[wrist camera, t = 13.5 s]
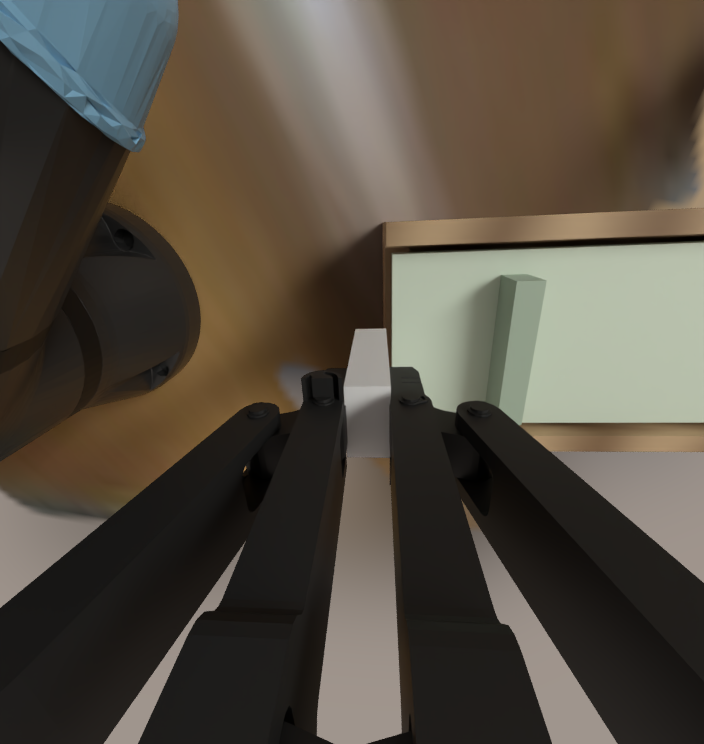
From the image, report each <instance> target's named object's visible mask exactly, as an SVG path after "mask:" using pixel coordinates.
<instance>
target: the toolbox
mask: <svg viewBox="0 0 704 744" xmlns="http://www.w3.org/2000/svg"><path fill="white" fill-rule="evenodd" d="M684 241H704V208H690V209H668V210H646V211H624V212H602V213H580V214H558V215H536V216H514V217H492V218H470V219H448V220H426V221H405V222H384V223H383V329H384V328H386V333H387V345H388V357H389V367H391V265H392V253H400V252H426V251H452V250H477V249H503V248H529V247H555V246H580V245H606V244H632V243H658V242H684ZM519 426H521V427H522V428H523V429H524V430H525V431H526V432H528V433H529V434H530V435H531V436H532V437H533V438H535V439H536V440H537V441H538V442H539V443H540V444H542V445H543V446H544V447H545V448H546V449H547V450H549V451H601V452H605V451H606V452H618V451H619V452H704V423H522V424H521V425H519Z"/></svg>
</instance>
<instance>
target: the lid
mask: <svg viewBox="0 0 704 744" xmlns="http://www.w3.org/2000/svg"><path fill="white" fill-rule="evenodd" d="M391 367H413V368H414V369H416V370H417V371H418V372H419V375H420V379H421V383H422V386H423V389H424V393H425V395H426V396H428V397H429V398H430V399H431V401H432V404H433V407H435V408H438V409H440V410H444V411H449V412H455V413H456V409H457V406H458V405H459V404H461V403H463V402H467V401H476V400H477V401H484V402H487V403H489V404H492V405H495V406H496V407H498V408H499V409H501V410H502V411H503V412H504V413H505V414H506V415H508V416H509V417H510V418H511V419H512V420H514V421H515V422H516V423H517V424H518V425H521V424H522V423H704V241H684V242H658V243H632V244H606V245H580V246H555V247H529V248H503V249H477V250H452V251H426V252H400V253H392V265H391Z"/></svg>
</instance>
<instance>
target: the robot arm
mask: <svg viewBox="0 0 704 744" xmlns="http://www.w3.org/2000/svg"><path fill="white" fill-rule="evenodd" d="M177 30H178V0H0V461H2V460H3V459H5V458H6V457H8V456H9V455H11V454H13V453H14V452H16V451H17V450H19V449H20V448H22V447H24V446H25V445H27V444H28V443H30V442H31V441H33V440H34V439H36V438H38V437H39V436H41V435H42V434H44V433H45V432H47V431H49V430H50V429H52V428H53V427H55V426H56V425H58V424H59V423H61V422H62V421H64V420H65V419H67V418H69V417H70V416H72V415H73V414H75V413H77V412H78V411H80V410H81V409H85V408H89V407H93V406H98V405H102V404H106V403H111V402H115V401H119V400H123V399H128V398H132V397H136V396H140V395H143V394H146V393H148V392H150V391H152V390H154V389H156V388H158V387H160V386H161V385H163V384H164V383H165V382H167V381H168V380H170V379H171V378H172V377H174V376H175V375H176V374H177V373H179V372H180V371H181V370H182V369H183V368H184V367H185V366H186V364H187V363H188V362H189V360H190V359H191V357H192V355H193V353H194V351H195V349H196V346H197V343H198V339H199V334H200V323H201V319H200V307H199V301H198V297H197V293H196V290H195V287H194V284H193V282H192V279H191V277H190V275H189V273H188V271H187V269H186V267H185V265H184V264H183V262H182V260H181V259H180V257H179V256H178V255H177V253H176V252H175V250H174V249H173V248H172V247H171V245H170V244H169V243H168V242H167V241H166V240H165V239H164V238H163V237H162V236H161V235H160V234H159V233H158V232H157V231H156V230H155V229H154V228H153V227H151V226H150V225H149V224H148V223H146V222H145V221H144V220H142V219H141V218H139V217H138V216H136V215H134V214H133V213H131V212H129V211H127V210H125V209H123V208H121V207H119V206H116V205H114V204H111V203H108V201H109V198H110V196H111V194H112V192H113V189H114V187H115V185H116V183H117V180H118V178H119V176H120V173H121V171H122V169H123V167H124V164H125V162H126V160H127V158H128V155H129V153H130V151H132V152H140V151H141V149H142V147H143V145H144V143H145V140H146V137H145V132H144V128H143V126H144V123H145V121H146V118H147V115H148V113H149V110H150V107H151V105H152V102H153V99H154V97H155V94H156V91H157V89H158V86H159V83H160V81H161V78H162V75H163V73H164V70H165V67H166V65H167V62H168V59H169V57H170V54H171V51H172V49H173V46H174V43H175V39H176V35H177ZM301 381H302V391H303V404H302V406H301V409H300V410H297V411H294V412H289V413H283V414H280V412H279V407H278V406H276V405H275V404H272V403H263V402H259V403H254V404H252V405H249V406H246V407H244V408H243V409H241V410H240V411H239V412H237V413H236V414H235V415H234V416H232V417H231V418H230V419H229V420H228V421H226V422H225V423H224V424H223V425H222V426H220V427H219V428H218V429H217V430H215V431H214V432H213V433H212V434H211V435H209V436H208V437H207V438H206V439H205V440H203V441H202V442H201V443H200V444H199V445H197V446H196V447H195V448H194V449H192V450H191V451H190V452H189V453H188V454H186V455H185V456H184V457H183V458H182V459H180V460H179V461H178V462H177V463H175V464H174V465H173V466H172V467H171V468H169V469H168V470H167V471H166V472H165V473H163V474H162V475H161V476H160V477H159V478H157V479H156V480H155V481H154V482H152V483H151V484H150V485H149V486H148V487H146V488H145V489H144V490H143V491H142V492H140V493H139V494H138V495H137V496H135V497H134V498H133V499H132V500H131V501H129V502H128V503H127V504H126V505H125V506H123V507H122V508H121V509H120V510H119V511H117V512H116V513H115V514H114V515H112V516H111V517H110V518H109V519H108V520H106V521H105V522H104V523H103V524H102V525H100V526H99V527H98V528H97V529H96V530H95V531H93V532H92V533H91V534H89V535H88V536H87V537H86V538H85V539H83V541H81V542H80V543H79V544H78V545H76V546H75V547H74V548H72V549H71V550H70V551H69V552H68V553H66V554H65V555H64V556H63V557H62V558H61V559H59V560H58V561H57V562H56V563H54V564H53V565H52V566H51V567H49V568H48V569H47V570H46V571H45V572H43V573H42V574H41V575H40V576H39V577H37V578H36V579H35V580H34V581H33V582H31V583H30V584H29V585H28V586H26V587H25V588H24V589H23V590H22V591H20V592H19V593H18V594H17V595H16V596H14V597H13V598H12V599H11V600H10V601H8V602H7V603H6V604H5V605H3V606H2V607H1V608H0V744H104V742H105V741H106V739H107V738H108V736H109V735H110V734H111V732H112V731H113V729H114V728H115V726H116V725H117V724H118V722H119V721H120V719H121V718H122V716H123V715H124V714H125V712H126V711H127V709H128V708H129V707H130V705H131V703H132V702H133V701H134V699H135V698H136V697H137V695H138V694H139V692H140V691H141V689H142V688H143V687H144V685H145V684H146V682H147V681H148V679H149V678H150V677H151V675H152V674H153V672H154V671H155V669H156V668H157V667H158V665H159V664H160V662H161V661H162V659H163V658H164V657H165V655H166V654H167V652H168V650H169V649H170V648H171V646H172V645H173V644H174V642H175V641H176V639H177V638H178V637H179V635H180V634H181V632H182V631H183V629H184V628H185V627H186V625H187V624H188V622H189V621H190V620H191V618H192V617H193V615H194V614H195V612H196V611H197V610H198V608H199V607H200V605H201V604H202V602H203V601H204V599H205V598H206V597H207V595H208V594H209V592H210V591H211V590H212V588H213V587H214V585H215V584H216V582H217V581H218V580H219V578H220V577H221V575H222V574H223V572H224V571H225V570H226V568H227V567H228V565H229V564H230V562H231V561H232V560H233V558H234V557H235V555H236V554H237V552H238V551H239V550H240V548H241V547H242V545H243V544H244V542H245V541H246V543H245V545H244V547H243V550H242V552H241V555H240V557H239V560H238V562H237V564H236V567H235V570H234V572H233V574H232V577H231V579H230V582H229V584H228V586H227V589H226V591H225V594H224V596H223V599H222V601H221V603H220V605H219V606H218V607H217V609H216V610H215V611H207V612H204V613H203V614H202V615H201V616H200V617H199V618H198V619H197V620H196V621H195V623H194V625H193V627H192V629H191V631H190V632H189V634H188V636H187V638H186V640H185V642H184V645H183V647H182V649H181V651H180V653H179V656H178V658H177V660H176V662H175V664H174V667H173V669H172V671H171V673H170V675H169V677H168V680H167V682H166V684H165V686H164V688H163V691H162V693H161V695H160V697H159V699H158V702H157V704H156V706H155V708H154V710H153V712H152V714H151V717H150V719H149V721H148V723H147V725H146V728H145V730H144V732H143V734H142V736H141V738H140V741H139V743H138V744H333V743H331V742H329V741H327V740H324V739H322V738H320V737H318V736H317V708H318V699H319V689H320V681H321V673H322V665H323V657H324V649H325V641H326V633H327V632H326V631H327V624H328V616H329V607H330V600H331V592H332V583H333V575H334V566H335V559H336V550H337V542H338V534H339V526H340V517H341V510H342V502H343V493H344V485H345V477H346V469H347V461H346V451H347V457H373V458H390V485H391V498H392V499H391V501H392V521H393V544H394V563H395V564H394V565H395V586H396V607H397V629H398V650H399V668H400V669H399V672H400V693H401V716H402V717H401V718H402V734H399V735H396V736H392V737H389V738H385V739H382V740H378V741H375V742H371V743H368V744H552V742H551V739H550V736H549V733H548V730H547V727H546V724H545V721H544V718H543V715H542V712H541V709H540V706H539V703H538V700H537V697H536V694H535V691H534V688H533V685H532V682H531V679H530V676H529V673H528V670H527V667H526V664H525V661H524V658H523V655H522V652H521V650H520V647H519V645H518V643H517V640H516V637H515V635H514V633H513V632H512V630H511V629H510V627H509V626H508V625H505V624H501V623H500V622H499V620H498V619H497V616H496V614H495V611H494V608H493V604H492V601H491V598H490V594H489V591H488V588H487V584H486V581H485V578H484V574H483V571H482V568H481V564H480V561H479V558H478V554H477V551H476V548H475V544H474V541H473V538H472V534H471V531H470V528H469V524H468V521H467V518H466V514H465V511H464V508H463V504H462V501H463V502H464V504H465V505H466V507H467V509H468V510H469V512H470V513H471V515H472V516H473V518H474V520H475V521H476V523H477V524H478V526H479V527H480V529H481V531H482V532H483V534H484V535H485V537H486V538H487V540H488V541H489V543H490V544H491V546H492V548H493V549H494V551H495V552H496V554H497V555H498V557H499V559H500V560H501V562H502V563H503V565H504V566H505V568H506V569H507V571H508V573H509V574H510V576H511V577H512V579H513V581H514V582H515V583H516V585H517V587H518V588H519V590H520V592H521V593H522V595H523V596H524V598H525V599H526V601H527V602H528V604H529V606H530V607H531V609H532V610H533V612H534V613H535V615H536V617H537V618H538V619H539V621H540V623H541V624H542V626H543V628H544V629H545V631H546V632H547V634H548V635H549V637H550V638H551V640H552V642H553V643H554V645H555V646H556V648H557V649H558V651H559V652H560V654H561V656H562V657H563V659H564V660H565V662H566V663H567V665H568V667H569V668H570V670H571V671H572V673H573V674H574V676H575V678H576V679H577V681H578V682H579V684H580V685H581V687H582V689H583V690H584V692H585V693H586V695H587V696H588V698H589V699H590V701H591V703H592V704H593V706H594V707H595V708H596V710H597V712H598V714H599V715H600V717H601V718H602V720H603V721H604V723H605V725H606V726H607V728H608V729H609V731H610V732H611V734H612V735H613V737H614V738H615V740H616V742H617V743H618V744H704V583H703V582H702V581H701V580H699V579H698V578H697V577H696V576H695V575H693V574H692V573H691V572H690V571H689V570H688V569H687V568H685V567H684V566H683V565H682V564H681V563H680V562H678V561H677V560H676V559H675V558H674V557H673V556H671V555H670V554H669V553H668V552H667V551H666V550H664V549H663V548H662V547H661V546H660V545H659V544H657V543H656V542H655V541H654V540H653V539H652V538H650V537H649V536H648V535H647V534H646V533H644V532H643V531H642V530H641V529H640V528H639V527H637V526H636V525H635V524H634V523H633V522H632V521H630V520H629V519H628V518H627V517H626V516H625V515H623V514H622V513H621V512H620V511H619V510H618V509H616V508H615V507H614V506H613V505H612V504H611V503H609V502H608V501H607V500H606V499H605V498H603V497H602V496H601V495H600V494H599V493H598V492H597V491H595V490H594V489H593V488H592V487H591V486H590V485H588V484H587V483H586V482H585V481H584V480H583V479H581V478H580V477H579V476H578V475H577V474H576V473H574V472H573V471H572V470H571V469H570V468H568V467H567V466H566V465H565V464H564V463H563V462H561V461H560V460H559V459H558V458H557V457H555V456H554V455H553V454H552V453H551V452H550V451H549V450H547V449H546V448H545V447H544V446H543V445H542V444H540V443H539V442H538V441H537V440H536V439H535V438H533V437H532V436H531V435H530V434H529V433H528V432H526V431H525V430H524V429H523V428H522V427H521V426H519V425H518V424H517V423H516V422H515V421H514V420H512V419H511V418H510V417H509V416H508V415H506V414H505V413H504V412H503V411H502V410H501V409H499V408H498V407H496V406H495V405H492V404H489V403H487V402H484V401H477V400H476V401H467V402H463V403H461V404H459V405H458V406H457V409H456V413H455V412H449V411H444V410H440V409H438V408H435V407H433V404H432V401H431V399H430V398H429V397H428V396H426V395H425V393H424V389H423V386H422V383H421V379H420V375H419V372H418V371H417V370H416V369H414V368H413V367H389V357H388V345H387V333H386V328H384V329H355V334H354V339H353V344H352V348H351V353H350V358H349V363H348V368H329V369H327V370H322V371H315V372H311V373H308V374H306V375H304V376H303V377H302V378H301ZM245 466H246V468H247V469H246V470H245V471H244V468H245ZM243 471H244V472H243ZM461 499H462V501H461Z"/></svg>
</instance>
